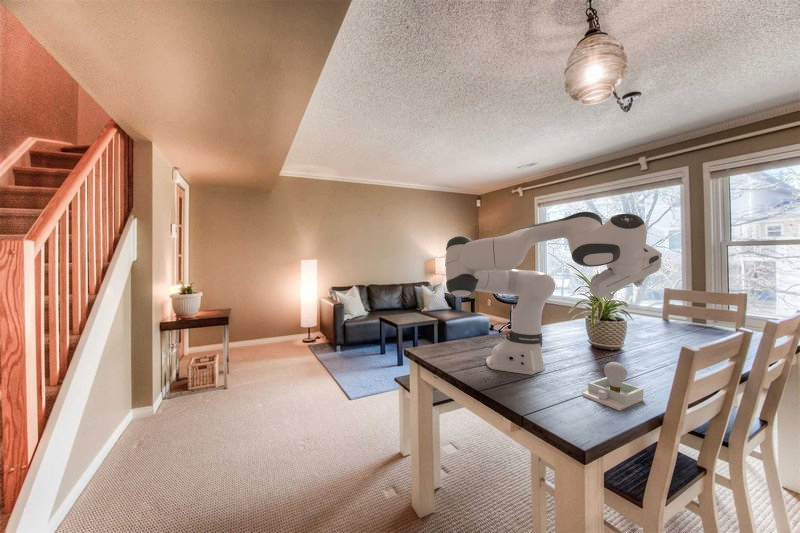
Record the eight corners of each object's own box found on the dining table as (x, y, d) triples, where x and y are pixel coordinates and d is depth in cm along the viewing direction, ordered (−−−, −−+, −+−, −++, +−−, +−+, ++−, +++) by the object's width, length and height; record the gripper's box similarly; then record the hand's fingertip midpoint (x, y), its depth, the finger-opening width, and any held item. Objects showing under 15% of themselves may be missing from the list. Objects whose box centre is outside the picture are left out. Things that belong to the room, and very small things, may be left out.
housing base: (619, 410, 86) (619, 398, 86) (582, 395, 96) (582, 384, 96) (643, 400, 93) (643, 388, 93) (606, 386, 102) (606, 376, 102)
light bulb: (599, 389, 98) (599, 359, 97) (616, 389, 98) (616, 359, 98) (613, 398, 92) (614, 366, 91) (631, 397, 92) (632, 365, 92)
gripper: (598, 283, 86) (599, 312, 94) (668, 251, 84) (662, 283, 92) (583, 271, 91) (585, 299, 99) (648, 240, 89) (645, 271, 97)
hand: (623, 291), depth 96 cm, fingers open, 8 cm apart
